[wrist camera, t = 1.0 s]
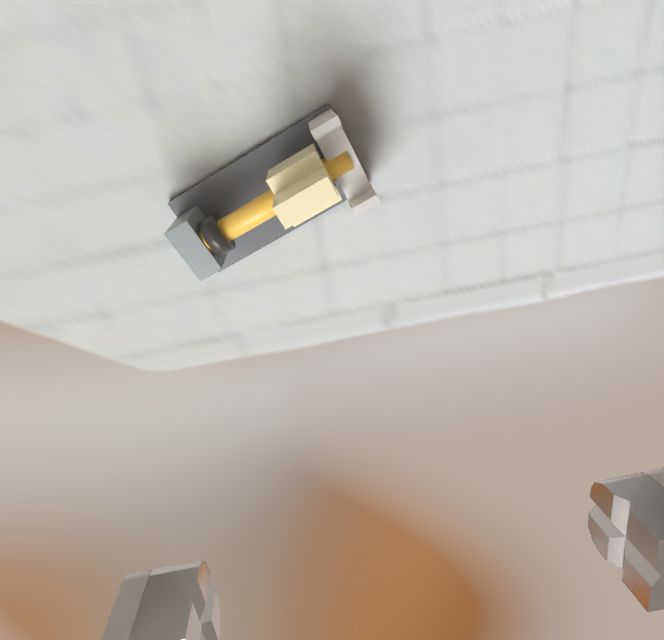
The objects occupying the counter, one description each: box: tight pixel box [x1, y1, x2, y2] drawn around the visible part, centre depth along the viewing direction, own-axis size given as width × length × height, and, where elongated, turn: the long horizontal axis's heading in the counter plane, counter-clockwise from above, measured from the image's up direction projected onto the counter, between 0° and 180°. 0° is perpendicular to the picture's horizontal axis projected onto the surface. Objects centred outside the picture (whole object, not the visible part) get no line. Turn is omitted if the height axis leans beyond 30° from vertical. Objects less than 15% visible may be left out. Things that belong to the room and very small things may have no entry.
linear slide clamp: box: [165, 104, 380, 281], centre depth 35 cm, size 15×7×7 cm, turn 119°
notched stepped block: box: [266, 143, 342, 230], centre depth 32 cm, size 4×4×7 cm
